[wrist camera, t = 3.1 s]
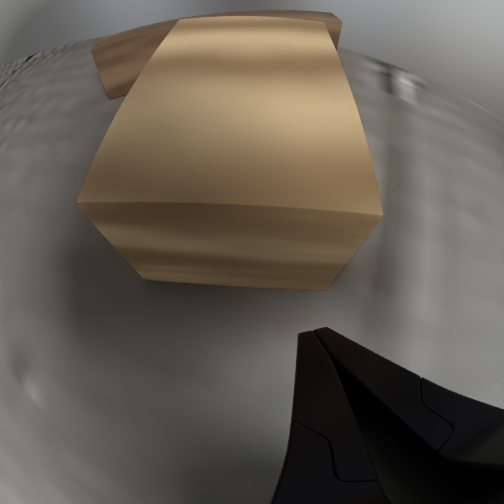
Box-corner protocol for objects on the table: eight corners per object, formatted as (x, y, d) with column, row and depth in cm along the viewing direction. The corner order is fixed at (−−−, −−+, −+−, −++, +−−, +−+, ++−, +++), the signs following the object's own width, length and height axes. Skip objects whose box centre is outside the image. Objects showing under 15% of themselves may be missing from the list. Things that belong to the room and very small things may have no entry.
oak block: (324, 291, 16) (383, 215, 8) (145, 280, 16) (75, 202, 9) (309, 104, 22) (324, 22, 15) (192, 100, 22) (179, 19, 15)
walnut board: (332, 70, 24) (342, 21, 19) (109, 99, 23) (90, 50, 17) (323, 59, 25) (331, 13, 20) (113, 86, 24) (97, 40, 18)
